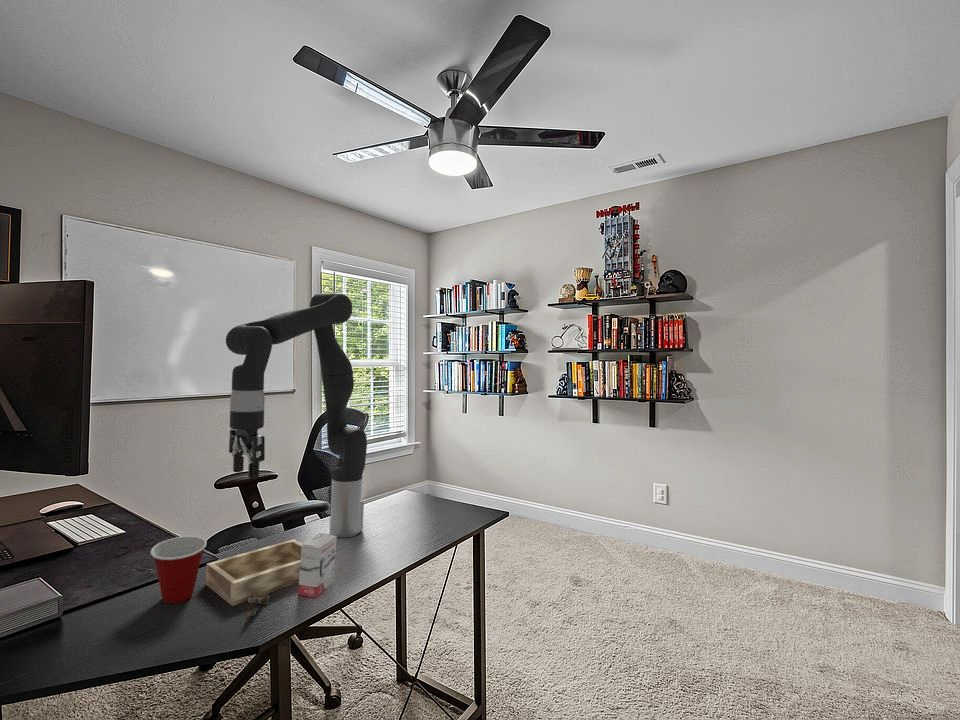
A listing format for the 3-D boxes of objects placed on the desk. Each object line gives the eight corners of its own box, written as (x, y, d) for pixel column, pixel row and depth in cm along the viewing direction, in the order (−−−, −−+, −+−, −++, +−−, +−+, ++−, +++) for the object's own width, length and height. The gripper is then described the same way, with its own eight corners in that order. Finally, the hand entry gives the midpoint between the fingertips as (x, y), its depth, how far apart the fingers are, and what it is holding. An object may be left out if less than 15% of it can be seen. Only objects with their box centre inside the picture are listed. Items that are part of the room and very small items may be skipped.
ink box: (317, 598, 112) (319, 547, 112) (297, 595, 113) (299, 544, 113) (335, 582, 121) (337, 534, 121) (316, 579, 122) (318, 531, 122)
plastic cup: (140, 612, 103) (142, 556, 103) (158, 588, 114) (160, 537, 113) (197, 607, 106) (199, 552, 106) (210, 584, 117) (212, 534, 116)
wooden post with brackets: (240, 619, 101) (245, 595, 103) (256, 616, 108) (261, 593, 110) (249, 620, 101) (254, 595, 103) (265, 616, 108) (269, 594, 110)
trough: (293, 557, 134) (293, 539, 134) (322, 574, 125) (323, 554, 125) (205, 584, 116) (206, 563, 116) (232, 606, 107) (233, 583, 107)
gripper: (276, 410, 116) (274, 478, 116) (250, 404, 125) (248, 467, 126) (244, 412, 110) (242, 484, 111) (219, 406, 120) (217, 472, 120)
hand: (245, 475), depth 118 cm, fingers open, 8 cm apart
